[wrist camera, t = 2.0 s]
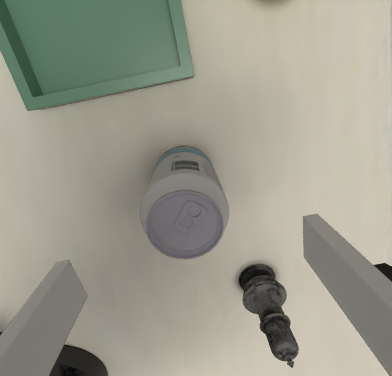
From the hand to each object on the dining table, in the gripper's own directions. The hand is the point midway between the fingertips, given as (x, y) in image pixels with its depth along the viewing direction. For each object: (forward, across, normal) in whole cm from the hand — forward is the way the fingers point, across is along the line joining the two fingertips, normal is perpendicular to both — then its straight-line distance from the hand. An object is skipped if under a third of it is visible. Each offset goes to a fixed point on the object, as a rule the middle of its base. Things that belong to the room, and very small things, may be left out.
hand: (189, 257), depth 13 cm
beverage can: (+16, 0, 0) cm, 16 cm away
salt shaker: (+16, +7, -18) cm, 25 cm away
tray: (+16, -5, +17) cm, 24 cm away
